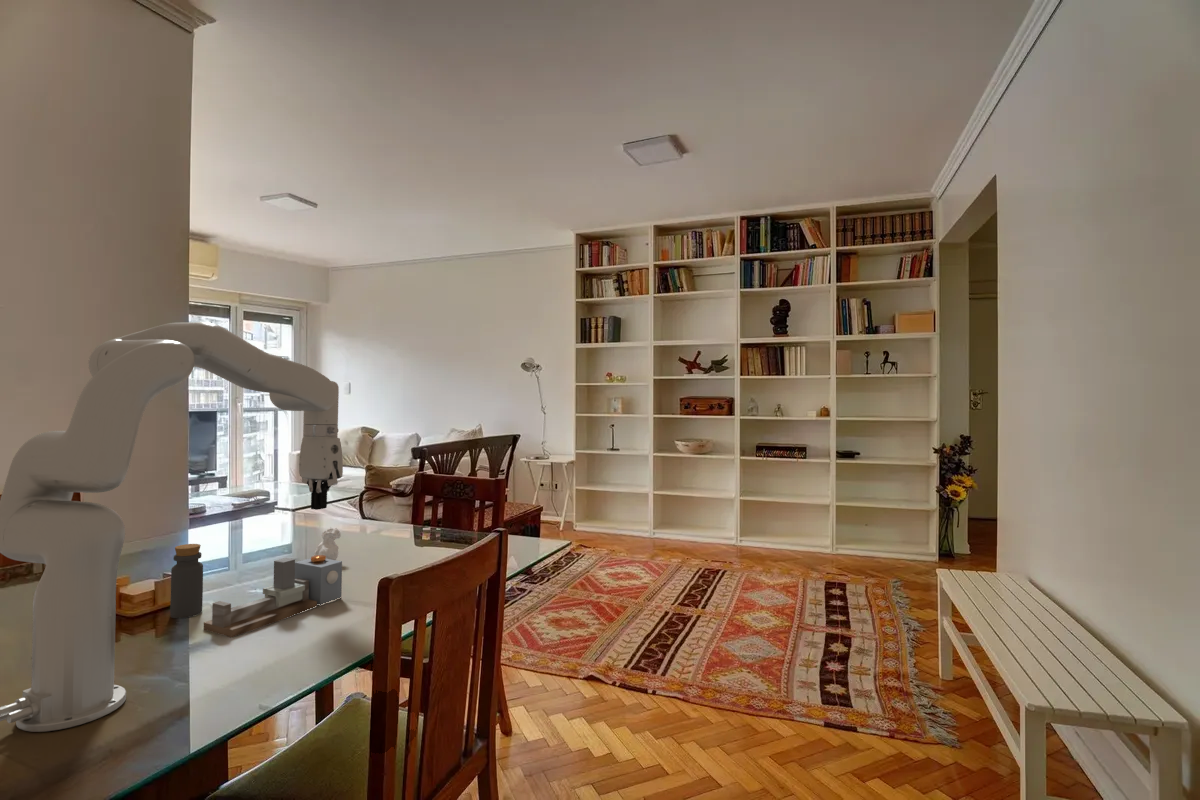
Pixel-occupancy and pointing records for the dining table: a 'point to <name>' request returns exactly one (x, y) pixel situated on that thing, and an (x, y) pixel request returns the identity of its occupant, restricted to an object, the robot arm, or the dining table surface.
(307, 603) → the rail plinth
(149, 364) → the robot arm
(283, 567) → the carriage
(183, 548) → the bottle
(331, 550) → the duck figurine
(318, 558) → the gauge plunger
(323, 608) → the dining table surface
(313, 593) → the end cabinet
